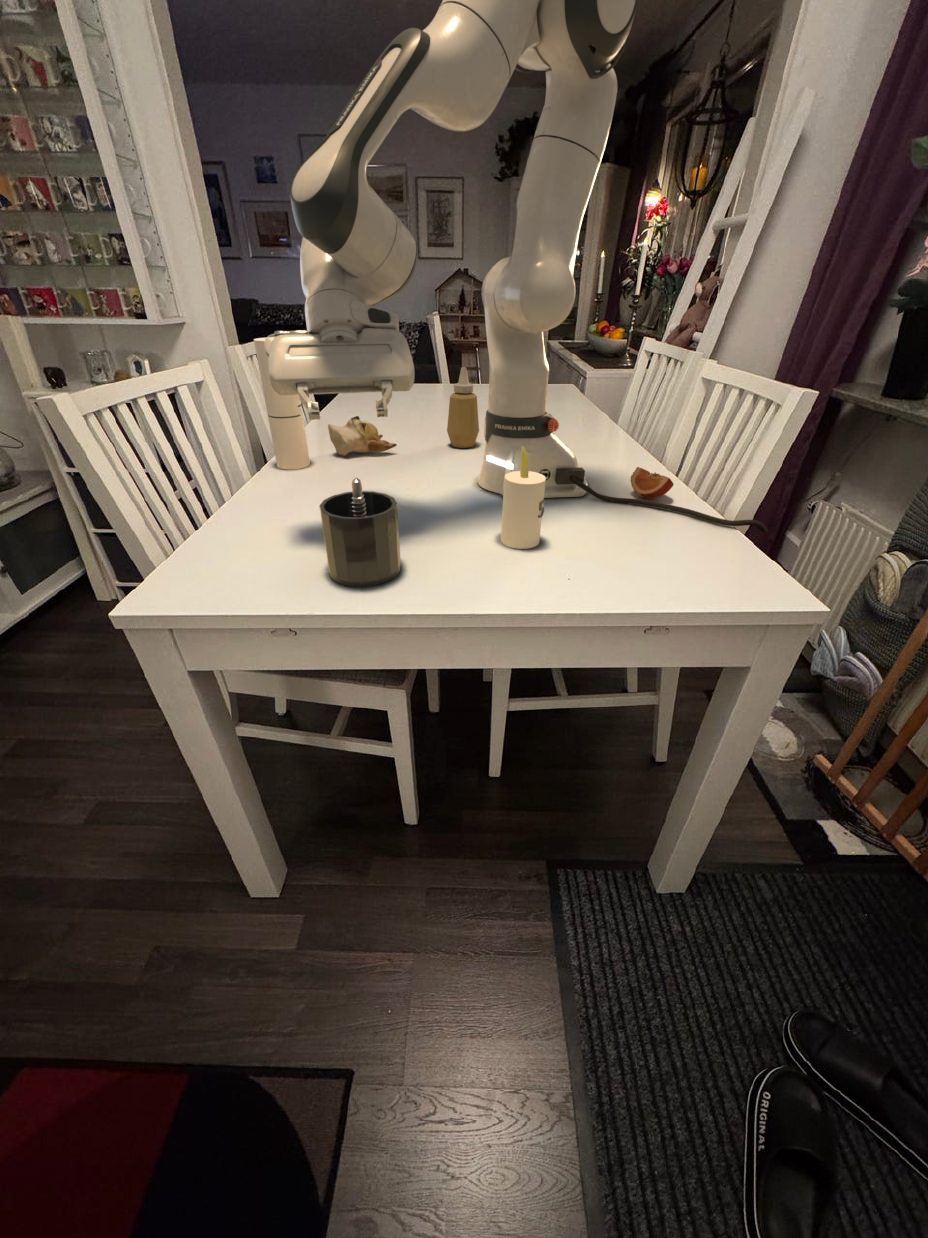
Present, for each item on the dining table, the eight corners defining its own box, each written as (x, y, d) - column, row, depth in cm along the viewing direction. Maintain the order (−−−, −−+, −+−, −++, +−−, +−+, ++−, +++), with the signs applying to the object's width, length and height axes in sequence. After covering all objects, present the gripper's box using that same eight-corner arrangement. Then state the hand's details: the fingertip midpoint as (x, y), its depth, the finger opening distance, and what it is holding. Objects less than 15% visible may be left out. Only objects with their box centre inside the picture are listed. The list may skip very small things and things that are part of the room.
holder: (405, 555, 80) (401, 492, 74) (393, 588, 71) (388, 520, 66) (339, 552, 80) (331, 489, 75) (320, 585, 72) (309, 517, 66)
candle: (530, 552, 81) (539, 456, 73) (493, 542, 84) (498, 448, 76) (546, 538, 86) (557, 445, 77) (511, 529, 88) (518, 439, 80)
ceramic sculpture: (320, 412, 122) (381, 410, 128) (323, 449, 126) (381, 446, 133) (334, 422, 114) (398, 419, 120) (336, 462, 119) (397, 457, 125)
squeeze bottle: (446, 441, 135) (445, 365, 125) (477, 441, 136) (479, 365, 126) (448, 450, 128) (447, 370, 118) (480, 449, 129) (482, 370, 119)
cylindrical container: (314, 460, 120) (296, 337, 106) (303, 470, 114) (283, 341, 100) (284, 459, 120) (262, 336, 107) (271, 468, 114) (247, 340, 101)
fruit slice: (621, 492, 105) (625, 467, 102) (645, 487, 107) (651, 463, 104) (651, 506, 98) (657, 480, 96) (677, 500, 101) (683, 475, 98)
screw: (352, 575, 73) (344, 561, 77) (386, 569, 75) (376, 555, 78) (342, 485, 66) (333, 474, 69) (379, 480, 67) (368, 470, 71)
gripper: (258, 314, 71) (267, 405, 68) (408, 313, 75) (421, 399, 72) (267, 347, 77) (276, 431, 74) (405, 345, 81) (417, 425, 78)
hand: (348, 415), depth 73 cm, fingers open, 8 cm apart
